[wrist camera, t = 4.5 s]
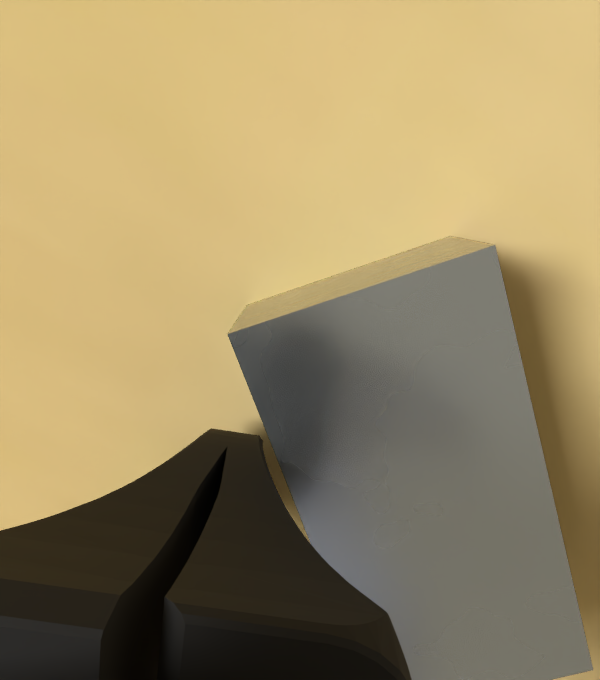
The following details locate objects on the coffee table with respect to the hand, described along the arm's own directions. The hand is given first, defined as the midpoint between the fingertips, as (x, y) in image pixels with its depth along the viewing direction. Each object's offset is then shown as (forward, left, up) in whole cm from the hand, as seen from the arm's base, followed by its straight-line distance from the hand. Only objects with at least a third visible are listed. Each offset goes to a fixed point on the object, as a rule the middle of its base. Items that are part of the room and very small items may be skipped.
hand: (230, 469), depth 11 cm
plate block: (+1, -4, -1) cm, 5 cm away
